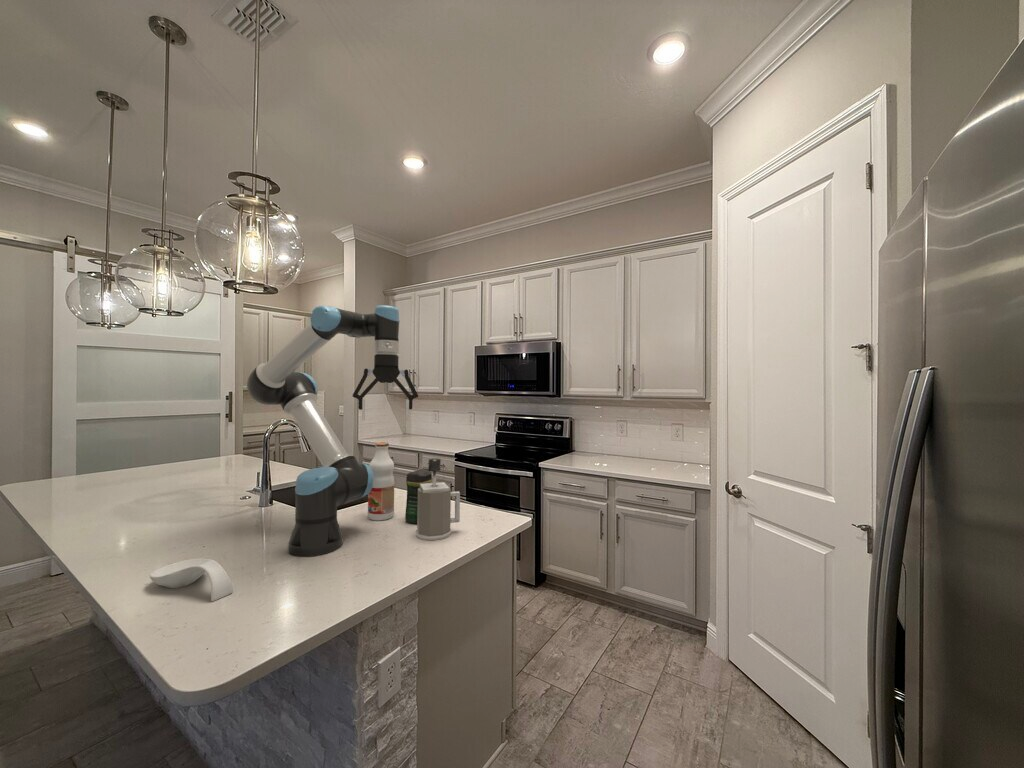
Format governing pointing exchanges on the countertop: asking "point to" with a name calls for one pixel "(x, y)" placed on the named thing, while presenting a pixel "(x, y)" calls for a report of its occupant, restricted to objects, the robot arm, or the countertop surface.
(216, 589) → the spoon rest
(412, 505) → the coffee jar
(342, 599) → the countertop surface
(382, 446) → the fruit juice
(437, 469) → the plunger
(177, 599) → the countertop surface
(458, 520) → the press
